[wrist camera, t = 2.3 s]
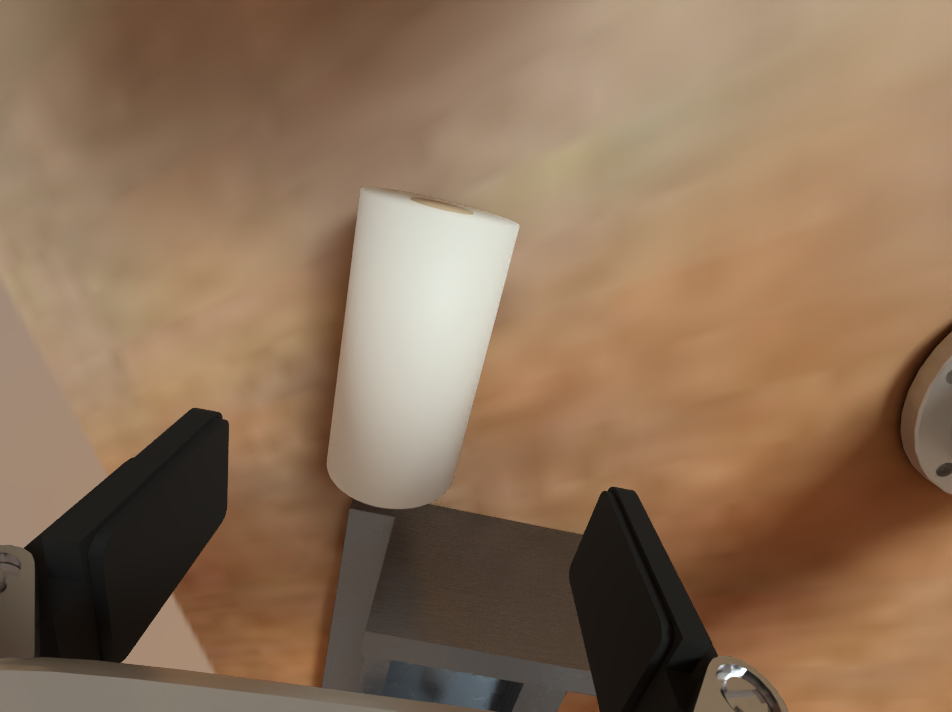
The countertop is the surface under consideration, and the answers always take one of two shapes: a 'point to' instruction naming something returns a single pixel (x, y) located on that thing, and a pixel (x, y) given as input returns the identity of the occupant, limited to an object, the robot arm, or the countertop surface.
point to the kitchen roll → (413, 343)
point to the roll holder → (456, 611)
